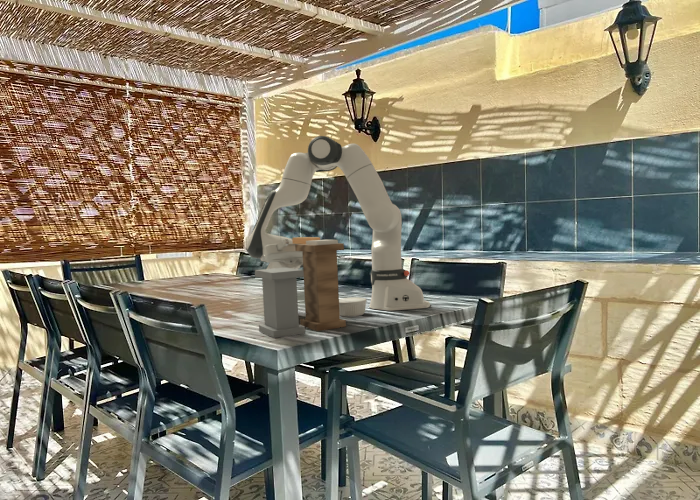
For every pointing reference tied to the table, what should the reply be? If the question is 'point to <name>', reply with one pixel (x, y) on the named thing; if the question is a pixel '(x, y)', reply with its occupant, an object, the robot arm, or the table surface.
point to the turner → (312, 241)
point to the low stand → (280, 302)
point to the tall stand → (321, 286)
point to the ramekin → (352, 306)
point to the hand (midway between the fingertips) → (299, 240)
